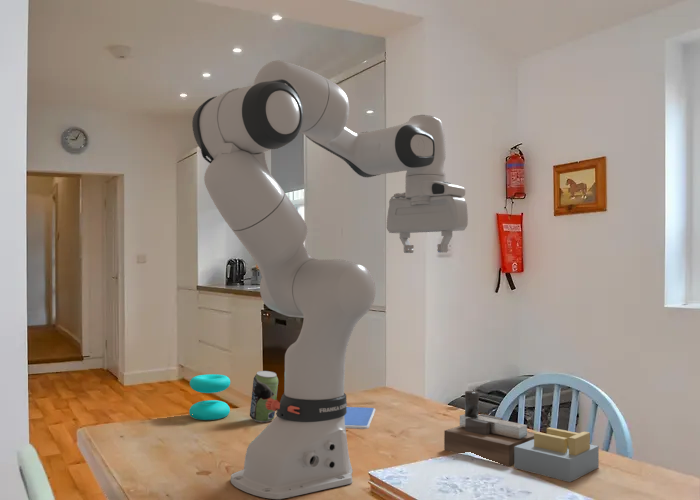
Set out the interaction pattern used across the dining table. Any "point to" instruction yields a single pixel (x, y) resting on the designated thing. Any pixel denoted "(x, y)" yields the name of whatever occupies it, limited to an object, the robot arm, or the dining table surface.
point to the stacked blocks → (558, 454)
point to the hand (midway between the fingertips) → (425, 252)
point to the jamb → (483, 441)
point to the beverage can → (263, 395)
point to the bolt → (491, 419)
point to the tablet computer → (358, 417)
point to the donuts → (209, 407)
